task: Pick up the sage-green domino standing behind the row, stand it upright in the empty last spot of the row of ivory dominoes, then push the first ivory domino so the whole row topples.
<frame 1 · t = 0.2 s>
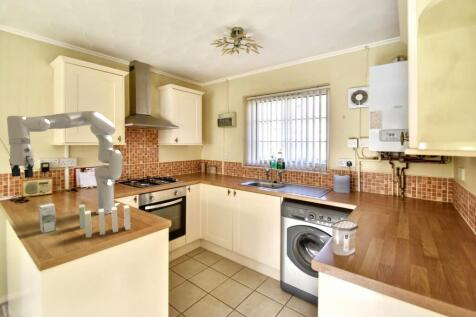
hand: (22, 177, 112), 31 cm above the countertop, tool pointing down, fingers open, 9 cm apart
domino 2: (115, 230, 125), on the countertop
domino 3: (102, 232, 121), on the countertop
domino 1: (127, 227, 128), on the countertop
sage domino: (83, 226, 129), on the countertop
domino 4: (88, 234, 118), on the countertop
syrup box: (48, 231, 123), on the countertop
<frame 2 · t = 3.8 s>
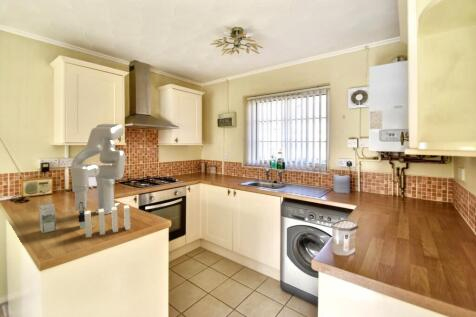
hand: (82, 219, 129), 4 cm above the countertop, tool pointing down, fingers closed on sage domino, 5 cm apart
sage domino: (83, 226, 129), on the countertop, touching gripper
everything else where it was.
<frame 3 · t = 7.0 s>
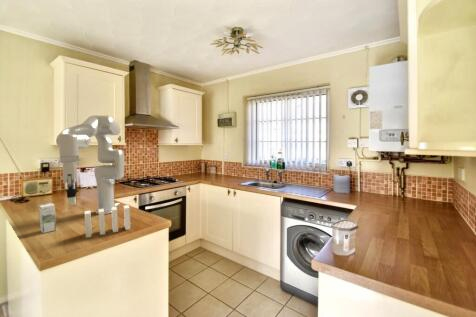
hand: (71, 195, 113), 22 cm above the countertop, tool pointing down, fingers closed on sage domino, 5 cm apart
sage domino: (72, 203, 114), point 17 cm above the countertop, touching gripper
everything else where it was.
when the fingers open (5 cm above the countertop, at t = 10.5 s): sage domino stays where it is, on the countertop.
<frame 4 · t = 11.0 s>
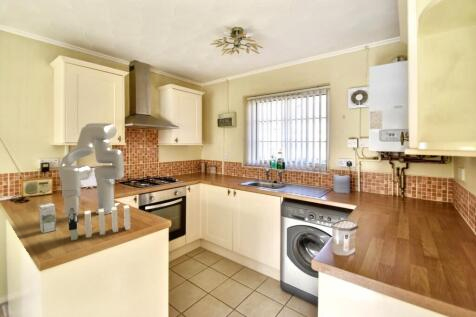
hand: (73, 226, 115), 6 cm above the countertop, tool pointing down, fingers open, 9 cm apart
sage domino: (74, 237, 115), on the countertop
everything else where it was.
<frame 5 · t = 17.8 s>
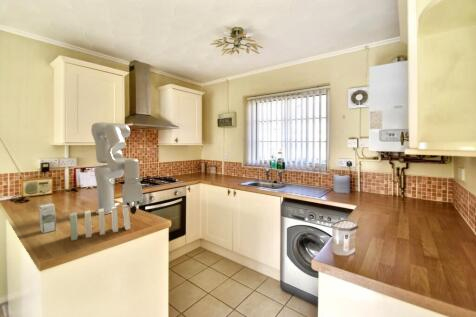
hand: (133, 213, 129), 8 cm above the countertop, tool pointing down, fingers closed
domino 1: (127, 227, 128), on the countertop, touching gripper
everything else where it was.
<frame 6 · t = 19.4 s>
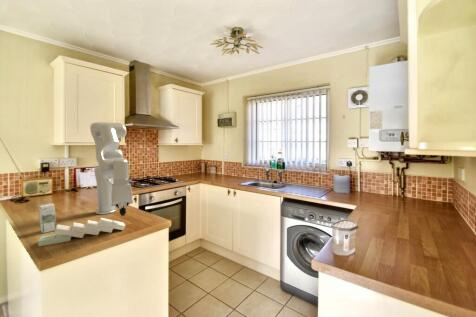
hand: (122, 215, 126), 8 cm above the countertop, tool pointing down, fingers closed
domino 2: (111, 228, 124), point 1 cm above the countertop, tilted 66°, touching domino 1, domino 3
domino 3: (98, 231, 120), point 1 cm above the countertop, tilted 66°, touching domino 2, domino 4
domino 1: (123, 226, 127), point 1 cm above the countertop, tilted 65°, touching domino 2
sage domino: (71, 236, 114), point 1 cm above the countertop, tilted 89°, touching domino 4
domino 4: (83, 233, 117), point 1 cm above the countertop, tilted 66°, touching domino 3, sage domino
everything else where it was.
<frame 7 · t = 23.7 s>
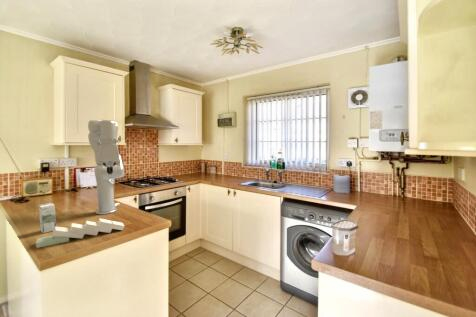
hand: (110, 173, 133), 29 cm above the countertop, tool pointing down, fingers closed
domino 4: (82, 234, 116), point 1 cm above the countertop, tilted 67°, touching domino 3, sage domino
at the end: sage domino tilted 89°; domino 4 tilted 67°; sage domino moved 16.4 cm from its start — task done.
